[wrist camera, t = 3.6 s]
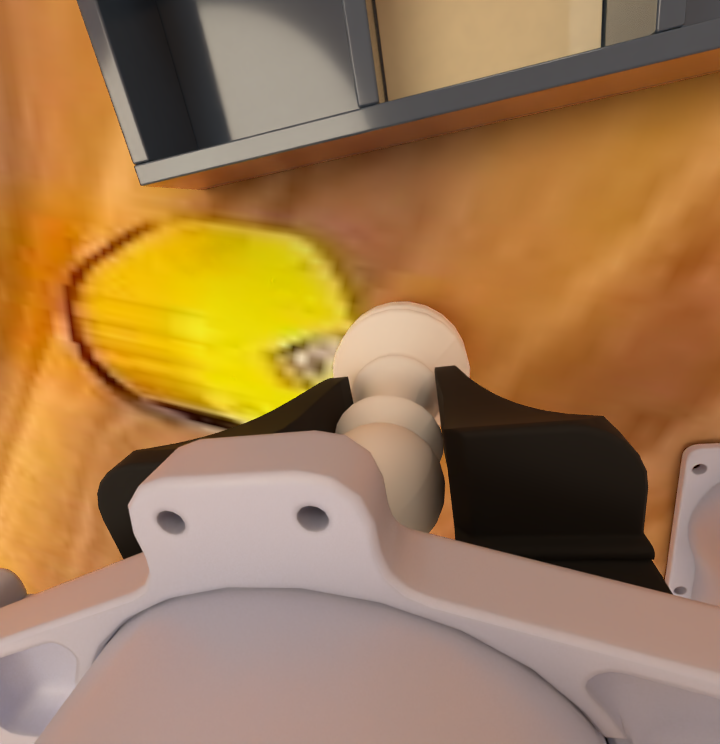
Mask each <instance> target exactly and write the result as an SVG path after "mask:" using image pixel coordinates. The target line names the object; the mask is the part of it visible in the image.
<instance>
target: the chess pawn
mask: <svg viewBox="0 0 720 744" xmlns="http://www.w3.org/2000/svg"><path fill="white" fill-rule="evenodd" d="M452 365H455V366H457V367H458V368H459V369H460V370H461V371H462V372H463V373H464V374H465V375H467V376H468V377H469V378H470V366H469V362H468V357H467V353H466V350H465V346H464V342H463V340H462V338H461V336H460V334H459V333H458V331H457V329H456V328H455V326H454V325H453V324H452V323H451V322H450V321H449V320H448V319H447V318H446V317H445V316H444V315H443V314H441V313H439V312H437V311H436V310H434V309H432V308H430V307H428V306H426V305H422V304H418V303H414V302H390V303H386V304H383V305H379V306H376V307H374V308H372V309H371V310H369V311H367V312H366V313H364V314H362V315H361V316H360V317H359V318H358V319H357V320H356V321H355V322H354V323H353V324H352V325H351V326H350V328H349V329H348V331H347V333H346V334H345V335H344V337H343V339H342V340H341V342H340V344H339V346H338V348H337V350H336V353H335V358H334V364H333V377H334V378H338V377H348V379H349V384H350V389H351V393H352V398H353V403H354V404H352V405H351V406H350V407H349V408H348V409H347V410H346V411H345V412H344V413H343V414H342V416H341V418H340V420H339V421H338V423H337V426H336V431H335V434H342V435H346V436H348V437H349V438H350V439H352V440H353V441H355V442H356V443H358V444H359V445H361V446H362V447H364V448H365V449H367V450H368V451H369V452H371V454H372V456H373V458H374V460H375V462H376V464H377V466H378V468H379V469H380V471H381V473H382V475H383V479H384V484H385V489H386V494H387V500H388V504H389V507H390V510H391V512H392V515H393V516H394V518H395V519H396V520H397V521H398V522H399V523H400V524H402V525H404V526H405V527H407V528H410V529H413V530H417V531H421V532H425V533H429V532H430V531H431V530H432V528H433V527H434V526H435V524H436V523H437V521H438V518H439V515H440V513H441V510H442V508H443V504H444V495H445V480H444V475H443V472H442V469H441V465H440V460H441V457H442V455H443V437H442V433H441V430H440V427H439V426H441V422H440V414H439V406H438V397H437V389H436V381H435V372H434V371H435V367H442V366H452Z"/></svg>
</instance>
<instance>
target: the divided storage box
mask: <svg viewBox="0 0 720 744" xmlns="http://www.w3.org/2000/svg"><path fill="white" fill-rule="evenodd" d="M77 3H78V6H79V9H80V12H81V14H82V17H83V20H84V23H85V26H86V29H87V32H88V35H89V38H90V40H91V43H92V46H93V49H94V52H95V55H96V58H97V61H98V63H99V66H100V69H101V72H102V75H103V78H104V81H105V84H106V87H107V89H108V92H109V95H110V98H111V101H112V104H113V107H114V110H115V112H116V115H117V118H118V121H119V124H120V127H121V130H122V133H123V136H124V138H125V141H126V144H127V147H128V150H129V153H130V156H131V159H132V161H133V163H134V164H135V166H134V168H135V171H136V173H137V176H138V179H139V182H140V185H141V186H150V187H165V188H181V189H197V190H204V189H208V188H213V187H217V186H222V185H226V184H230V183H235V182H239V181H244V180H248V179H252V178H257V177H261V176H265V175H270V174H274V173H279V172H283V171H287V170H292V169H296V168H301V167H305V166H309V165H314V164H318V163H323V162H327V161H331V160H336V159H340V158H344V157H349V156H353V155H358V154H362V153H366V152H371V151H375V150H380V149H384V148H388V147H393V146H397V145H402V144H406V143H410V142H415V141H419V140H423V139H428V138H432V137H437V136H441V135H445V134H450V133H454V132H459V131H463V130H467V129H472V128H476V127H481V126H485V125H489V124H494V123H498V122H502V121H507V120H511V119H516V118H520V117H524V116H529V115H533V114H538V113H542V112H546V111H551V110H555V109H560V108H564V107H568V106H573V105H577V104H581V103H586V102H590V101H595V100H599V99H603V98H608V97H612V96H617V95H621V94H625V93H630V92H634V91H639V90H643V89H647V88H652V87H656V86H660V85H665V84H669V83H674V82H678V81H682V80H687V79H691V78H696V77H700V76H704V75H709V74H713V73H718V72H720V0H77Z"/></svg>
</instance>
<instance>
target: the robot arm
mask: <svg viewBox="0 0 720 744" xmlns="http://www.w3.org/2000/svg"><path fill="white" fill-rule="evenodd" d="M434 372H435V381H436V389H437V397H438V406H439V414H440V422H441V431H442V437H443V448H444V453H445V458H446V463H447V468H448V476H449V484H450V493H451V501H452V510H453V518H454V528H455V540H453V539H449V538H445V537H441V536H437V535H433V534H429V533H425V532H421V531H417V530H413V529H410V528H407V527H405V526H404V525H402V524H400V523H399V522H398V521H397V520H396V519H395V518H394V516H393V515H392V512H391V510H390V507H389V504H388V500H387V494H386V489H385V484H384V479H383V475H382V473H381V471H380V469H379V468H378V466H377V464H376V462H375V460H374V458H373V456H372V454H371V452H369V451H368V450H367V449H365V448H364V447H362V446H361V445H359V444H358V443H356V442H355V441H353V440H352V439H350V438H349V437H348V436H346V435H342V434H335V431H336V426H337V423H338V421H339V420H340V418H341V416H342V414H343V413H344V412H345V411H346V410H347V409H348V408H349V407H350V406H351V405H352V404H354V403H353V398H352V393H351V389H350V384H349V379H348V377H338V378H330V379H327V380H325V381H323V382H321V383H319V384H317V385H315V386H314V387H312V388H311V389H309V390H307V391H306V392H304V393H302V394H301V395H299V396H297V397H296V398H294V399H292V400H291V401H289V402H287V403H285V404H284V405H282V406H280V407H278V408H276V409H275V410H273V411H271V412H269V413H267V414H265V415H263V416H260V417H258V418H256V419H254V420H251V421H249V422H247V423H244V424H241V425H239V426H236V427H233V428H230V429H227V430H224V431H221V432H219V433H215V434H212V435H208V436H205V437H201V438H197V439H193V440H189V441H185V442H180V443H176V444H170V445H165V446H159V447H153V448H148V449H141V450H136V451H133V452H132V453H131V454H130V455H128V456H127V457H126V458H125V459H124V460H122V461H121V462H120V463H119V464H118V465H116V466H115V467H114V468H113V469H112V470H110V471H109V472H108V473H107V474H106V475H105V477H104V478H103V479H102V481H101V482H100V485H99V489H98V493H97V495H98V506H99V510H100V513H101V515H102V518H103V520H104V522H105V524H106V526H107V528H108V530H109V532H110V534H111V536H112V538H113V540H114V541H115V543H116V545H117V547H118V549H119V551H120V553H121V555H122V557H123V559H124V560H121V561H118V562H116V563H113V564H111V565H108V566H106V567H103V568H101V569H98V570H96V571H93V572H91V573H88V574H85V575H83V576H80V577H78V578H75V579H73V580H70V581H68V582H65V583H63V584H60V585H57V586H55V587H52V588H50V589H47V590H45V591H42V592H40V593H37V594H27V592H26V589H25V587H24V585H23V583H22V581H21V580H20V578H19V577H18V576H17V575H16V574H15V573H13V572H12V571H10V570H8V569H4V568H0V744H720V443H709V444H696V445H692V446H690V447H688V448H686V449H685V450H684V452H683V454H682V460H681V467H680V475H679V482H678V489H677V496H676V504H675V511H674V518H673V525H672V533H671V540H670V547H669V554H668V561H667V569H666V576H665V581H664V579H663V577H662V576H661V574H660V573H659V571H658V569H657V568H656V566H655V565H654V563H653V561H652V560H654V557H655V552H654V549H653V546H652V545H651V543H650V542H649V540H648V539H647V537H646V536H645V534H644V533H643V532H644V522H645V513H646V503H647V493H648V480H647V470H646V468H645V466H644V464H643V462H642V460H641V458H640V456H639V454H638V453H637V452H636V451H635V450H634V448H633V447H632V446H631V445H630V444H629V442H628V441H627V440H626V439H625V438H624V436H623V435H622V434H621V433H620V432H619V431H618V430H617V429H616V428H615V427H614V426H613V425H612V424H611V423H610V422H609V421H608V420H607V419H606V418H605V417H604V416H594V415H577V414H564V413H557V412H551V411H545V410H540V409H535V408H531V407H528V406H524V405H521V404H518V403H515V402H512V401H509V400H507V399H504V398H502V397H500V396H497V395H495V394H493V393H492V392H490V391H488V390H486V389H485V388H483V387H481V386H480V385H478V384H477V383H475V382H474V381H473V380H471V379H470V378H469V377H468V376H467V375H465V374H464V373H463V372H462V371H461V370H460V369H459V368H458V367H457V366H455V365H452V366H442V367H435V371H434ZM698 464H700V466H699V467H697V468H694V469H693V467H694V466H696V465H698Z"/></svg>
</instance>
